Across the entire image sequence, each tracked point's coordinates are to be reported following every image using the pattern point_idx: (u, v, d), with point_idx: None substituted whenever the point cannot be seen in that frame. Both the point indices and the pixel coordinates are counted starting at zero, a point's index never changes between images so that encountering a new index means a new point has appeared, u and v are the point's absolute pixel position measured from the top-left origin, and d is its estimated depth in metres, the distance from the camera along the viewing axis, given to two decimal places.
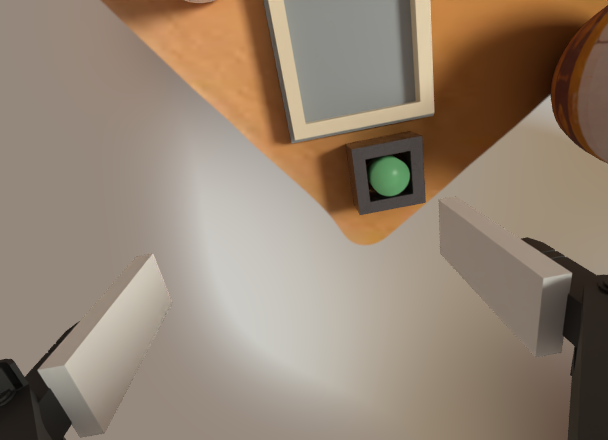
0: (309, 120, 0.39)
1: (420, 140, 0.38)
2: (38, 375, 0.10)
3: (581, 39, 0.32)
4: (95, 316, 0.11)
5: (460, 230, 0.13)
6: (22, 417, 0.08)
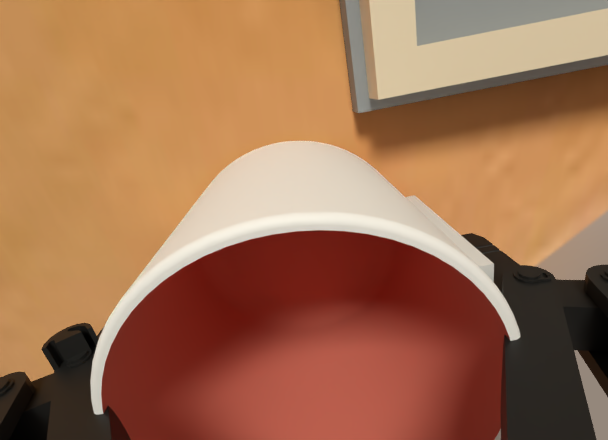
0: None
1: None
2: None
3: None
4: None
5: None
6: None
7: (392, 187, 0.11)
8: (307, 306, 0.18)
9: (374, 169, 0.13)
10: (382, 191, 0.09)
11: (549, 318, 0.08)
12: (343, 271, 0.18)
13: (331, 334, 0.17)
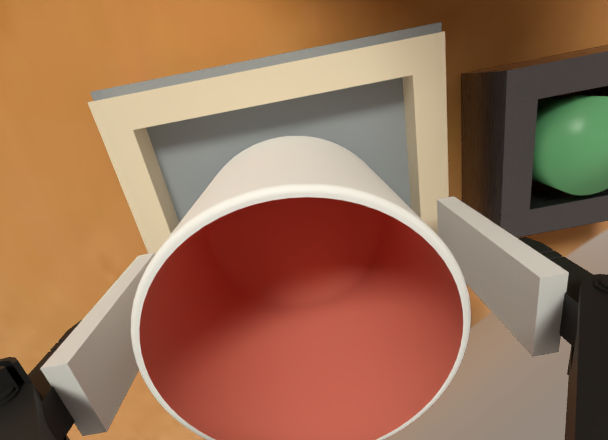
0: None
1: (518, 73, 0.14)
2: (41, 374, 0.10)
3: None
4: (97, 315, 0.11)
5: (458, 230, 0.13)
6: (25, 415, 0.08)
7: (372, 173, 0.13)
8: (304, 285, 0.20)
9: (360, 160, 0.15)
10: (360, 173, 0.11)
11: None
12: (336, 253, 0.20)
13: (325, 309, 0.19)
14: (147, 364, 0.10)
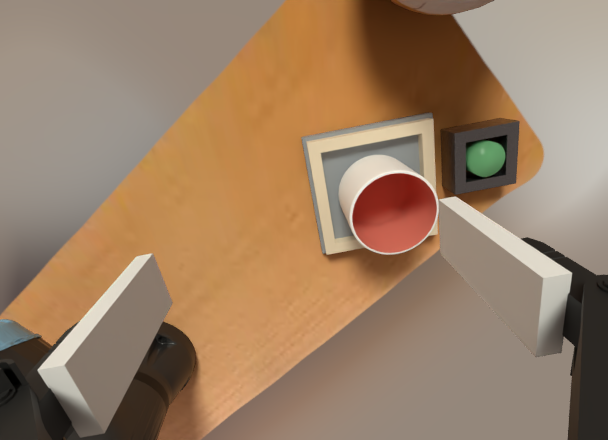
0: None
1: (458, 134, 0.42)
2: (38, 375, 0.10)
3: (399, 5, 0.33)
4: (95, 316, 0.11)
5: (460, 230, 0.13)
6: (22, 417, 0.08)
7: None
8: (374, 216, 0.48)
9: None
10: (408, 168, 0.38)
11: None
12: (389, 202, 0.47)
13: (385, 224, 0.46)
14: (352, 219, 0.37)
